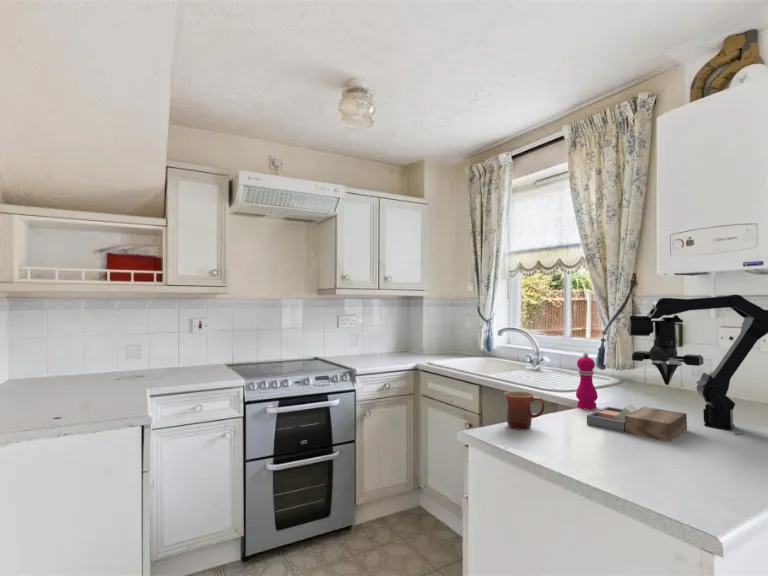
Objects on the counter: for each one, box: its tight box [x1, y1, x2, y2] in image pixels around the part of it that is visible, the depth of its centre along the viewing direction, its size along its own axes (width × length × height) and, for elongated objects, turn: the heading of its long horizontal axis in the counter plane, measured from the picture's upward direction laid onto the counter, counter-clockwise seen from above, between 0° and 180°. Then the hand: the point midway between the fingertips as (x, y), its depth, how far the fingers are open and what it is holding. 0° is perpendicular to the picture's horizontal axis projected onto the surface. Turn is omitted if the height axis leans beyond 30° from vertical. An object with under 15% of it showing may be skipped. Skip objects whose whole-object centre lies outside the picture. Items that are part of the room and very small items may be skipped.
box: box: [586, 406, 625, 433], centre depth 137 cm, size 11×16×3 cm
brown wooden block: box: [624, 406, 688, 443], centre depth 128 cm, size 12×16×5 cm
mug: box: [503, 390, 546, 430], centre depth 134 cm, size 12×9×10 cm
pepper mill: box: [575, 352, 598, 410], centre depth 158 cm, size 7×7×20 cm
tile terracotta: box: [598, 410, 620, 420], centre depth 138 cm, size 5×5×2 cm
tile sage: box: [616, 404, 638, 421], centre depth 134 cm, size 5×5×2 cm
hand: (667, 384), depth 138 cm, fingers closed
